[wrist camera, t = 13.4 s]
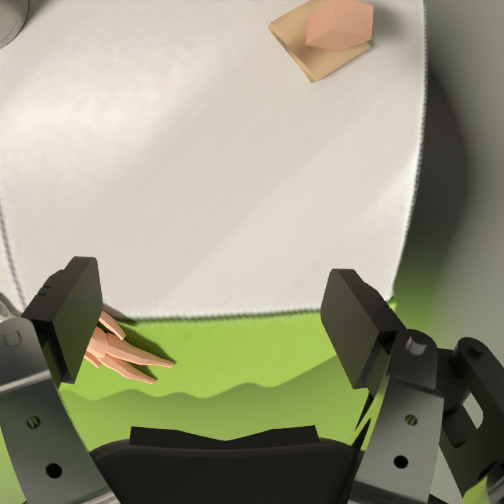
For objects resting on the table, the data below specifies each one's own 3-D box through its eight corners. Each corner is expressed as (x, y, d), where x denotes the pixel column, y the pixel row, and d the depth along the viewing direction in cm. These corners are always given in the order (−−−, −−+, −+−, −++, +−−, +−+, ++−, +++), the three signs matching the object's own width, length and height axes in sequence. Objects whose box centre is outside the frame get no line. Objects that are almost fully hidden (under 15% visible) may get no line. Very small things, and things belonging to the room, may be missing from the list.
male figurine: (146, 399, 51) (22, 332, 39) (147, 378, 55) (32, 313, 43) (180, 370, 48) (43, 291, 37) (180, 348, 52) (53, 272, 41)
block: (305, 45, 30) (332, 28, 22) (308, 16, 29) (334, -7, 21) (337, 52, 31) (371, 39, 23) (339, 23, 29) (373, 5, 21)
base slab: (266, 28, 31) (270, 22, 29) (320, -2, 30) (328, -9, 27) (310, 82, 35) (317, 81, 32) (360, 50, 34) (371, 47, 31)
